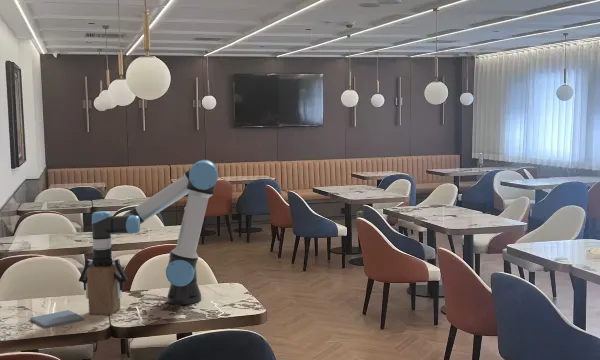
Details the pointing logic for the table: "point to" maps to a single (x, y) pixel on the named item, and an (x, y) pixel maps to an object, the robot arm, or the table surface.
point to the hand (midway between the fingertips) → (104, 297)
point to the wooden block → (103, 290)
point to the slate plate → (57, 318)
